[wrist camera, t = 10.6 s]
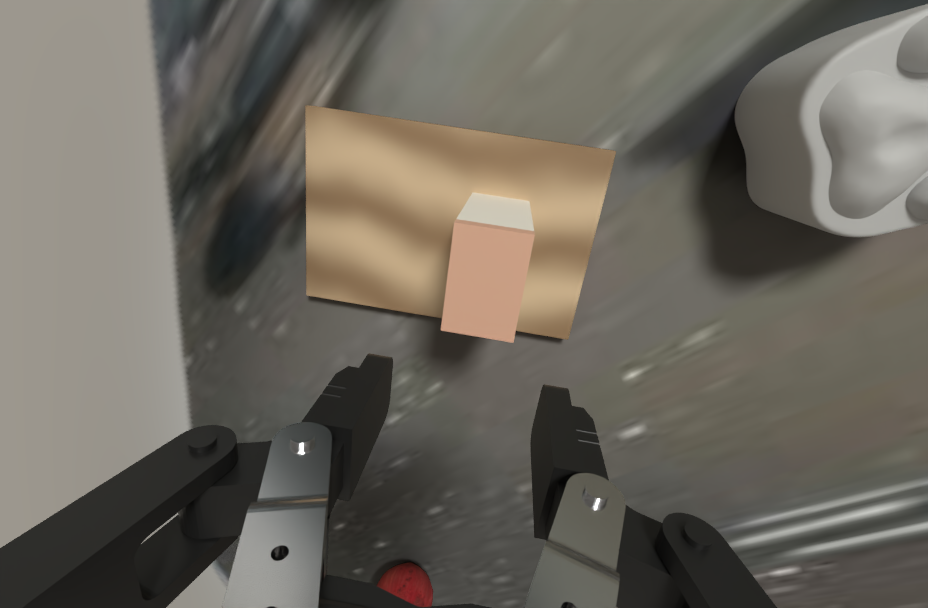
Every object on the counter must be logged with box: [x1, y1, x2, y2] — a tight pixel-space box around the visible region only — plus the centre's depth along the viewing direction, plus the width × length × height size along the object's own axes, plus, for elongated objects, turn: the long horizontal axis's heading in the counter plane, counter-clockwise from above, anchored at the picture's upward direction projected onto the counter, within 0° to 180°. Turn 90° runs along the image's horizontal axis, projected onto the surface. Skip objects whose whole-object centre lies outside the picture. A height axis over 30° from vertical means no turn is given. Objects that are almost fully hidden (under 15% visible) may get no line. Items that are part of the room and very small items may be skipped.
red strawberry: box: [377, 562, 433, 607], centre depth 44 cm, size 6×6×8 cm
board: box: [306, 105, 616, 340], centre depth 33 cm, size 14×21×1 cm, turn 82°
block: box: [441, 193, 535, 343], centre depth 28 cm, size 6×4×10 cm, turn 172°
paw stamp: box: [735, 4, 928, 237], centre depth 24 cm, size 10×13×9 cm
